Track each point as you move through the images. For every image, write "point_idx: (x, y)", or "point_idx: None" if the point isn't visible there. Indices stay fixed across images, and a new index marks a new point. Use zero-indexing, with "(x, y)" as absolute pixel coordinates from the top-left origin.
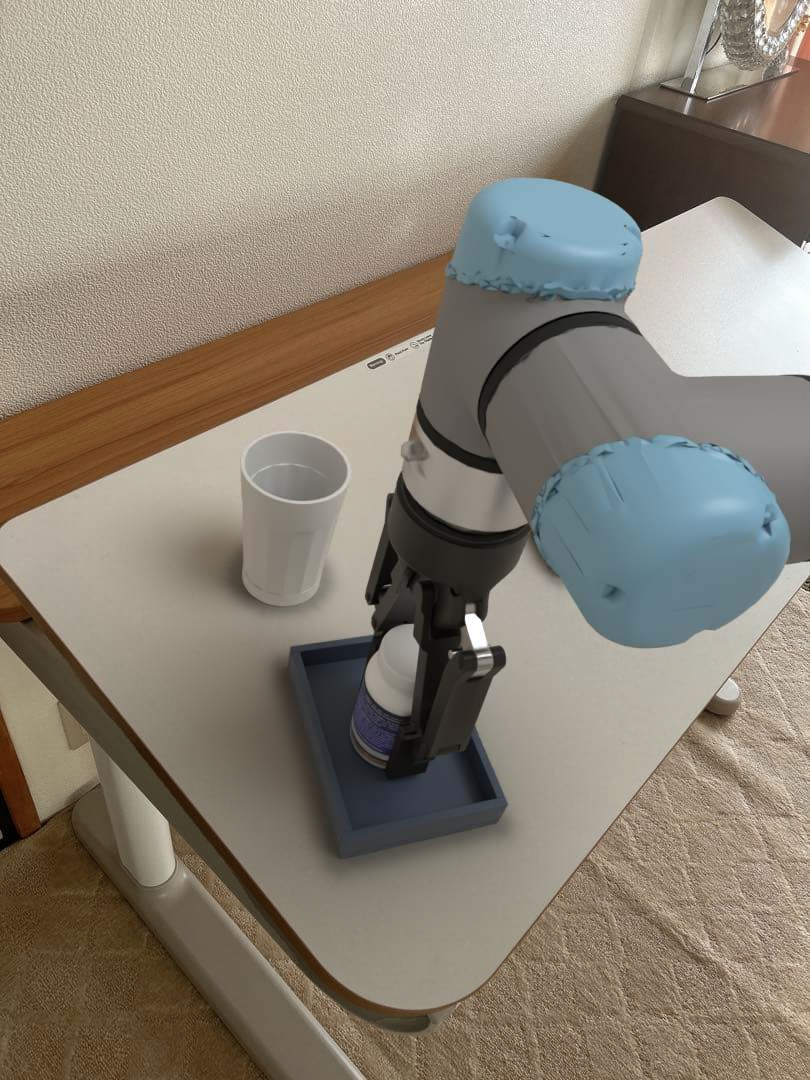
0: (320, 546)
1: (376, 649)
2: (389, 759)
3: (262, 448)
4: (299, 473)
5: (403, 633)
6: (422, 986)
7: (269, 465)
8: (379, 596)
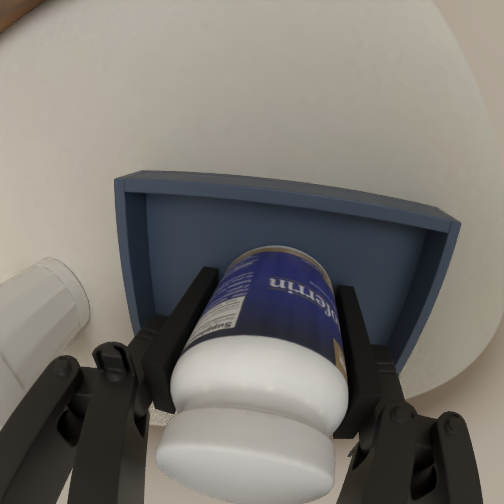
0: (23, 333)
1: None
2: None
3: None
4: None
5: (184, 477)
6: (483, 341)
7: None
8: (84, 415)
